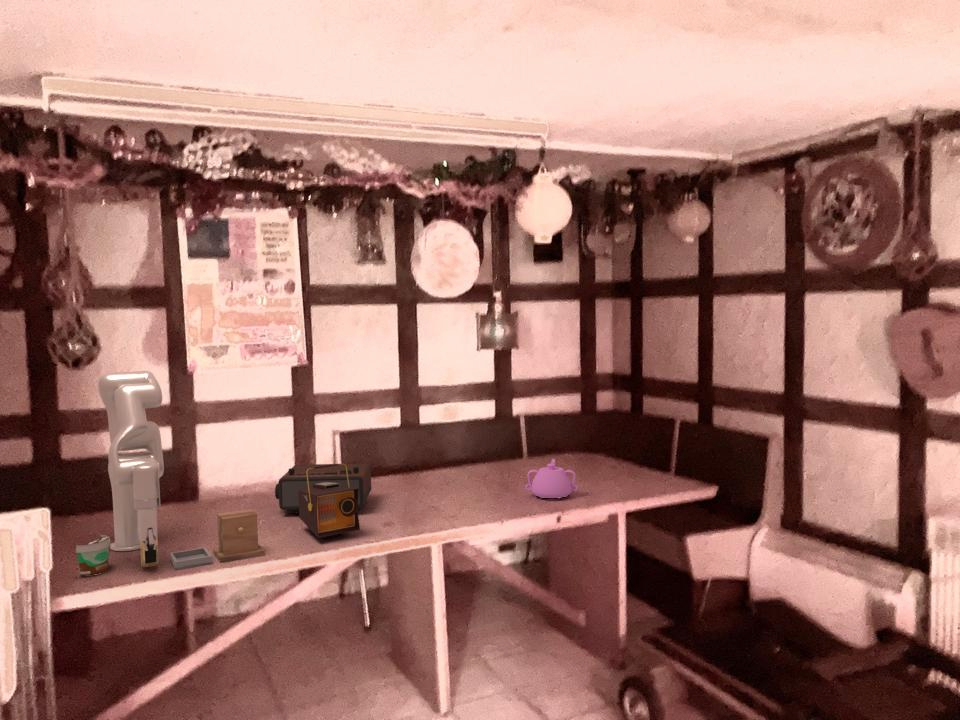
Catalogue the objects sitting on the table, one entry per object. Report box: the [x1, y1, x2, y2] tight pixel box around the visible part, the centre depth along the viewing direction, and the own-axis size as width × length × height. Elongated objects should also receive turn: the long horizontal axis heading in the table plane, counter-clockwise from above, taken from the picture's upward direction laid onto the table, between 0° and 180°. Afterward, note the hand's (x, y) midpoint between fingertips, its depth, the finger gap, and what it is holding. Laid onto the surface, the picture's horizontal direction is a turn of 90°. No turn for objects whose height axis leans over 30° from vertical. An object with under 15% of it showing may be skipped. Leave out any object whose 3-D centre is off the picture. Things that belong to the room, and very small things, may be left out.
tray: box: [169, 547, 213, 571], centre depth 248 cm, size 11×11×2 cm
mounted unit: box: [212, 508, 266, 564], centre depth 255 cm, size 12×14×14 cm
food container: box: [75, 534, 112, 577], centre depth 241 cm, size 12×6×10 cm, turn 170°
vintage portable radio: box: [298, 463, 361, 539], centre depth 276 cm, size 16×23×25 cm
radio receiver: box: [274, 462, 372, 513], centre depth 313 cm, size 35×27×18 cm
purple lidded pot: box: [525, 458, 579, 498], centre depth 326 cm, size 22×22×14 cm
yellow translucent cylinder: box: [140, 538, 159, 568], centre depth 243 cm, size 5×5×8 cm
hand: (149, 559), depth 243 cm, fingers closed on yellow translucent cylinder, 5 cm apart
